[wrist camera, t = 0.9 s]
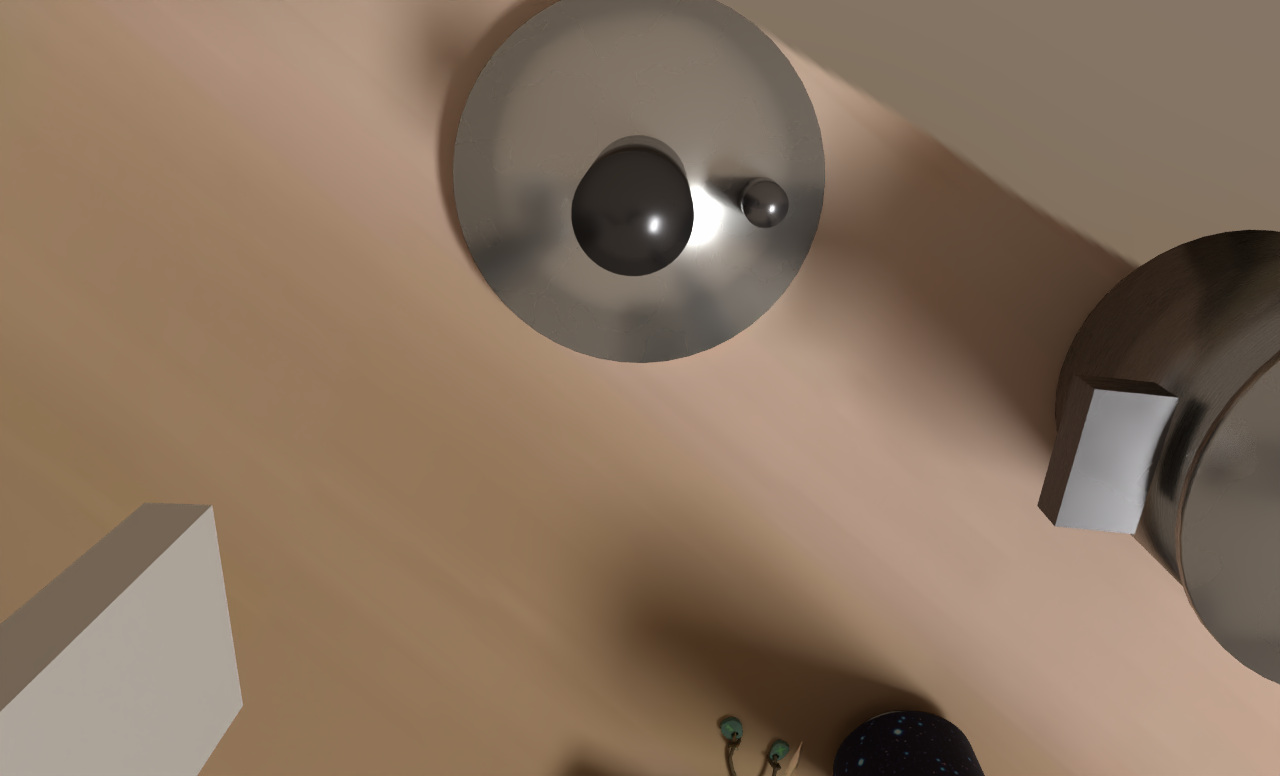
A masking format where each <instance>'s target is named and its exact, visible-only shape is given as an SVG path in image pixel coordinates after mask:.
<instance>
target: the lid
mask: <svg viewBox="0 0 1280 776" xmlns="http://www.w3.org/2000/svg"><path fill="white" fill-rule="evenodd" d="M453 184H454V196H455V202H456V208H457V214H458V218H459V222H460V225H461V228H462V232H463V235H464V238H465V241H466V243H467V246H468V248H469V250H470V252H471V255H472V257H473V259H474V261H475V263H476V265H477V266H478V268H479V270H480V271H481V273H482V275H483V276H484V278H485V280H486V281H487V283H488V284H489V285H490V287H491V288H492V289H493V290H494V292H495V293H496V294H497V296H498V297H499V298H500V299H501V301H502V302H503V303H504V304H505V305H506V306H507V307H508V308H509V309H510V310H511V311H512V312H513V313H515V314H516V315H517V316H518V317H519V318H520V319H521V320H523V321H524V322H525V323H526V324H528V325H529V326H530V327H532V328H533V329H534V330H536V331H537V332H539V333H540V334H542V335H544V336H545V337H547V338H549V339H551V340H552V341H554V342H556V343H558V344H560V345H562V346H565V347H567V348H569V349H571V350H574V351H576V352H579V353H582V354H586V355H589V356H593V357H596V358H600V359H606V360H612V361H618V362H634V363H648V362H660V361H669V360H673V359H678V358H683V357H687V356H691V355H694V354H696V353H699V352H702V351H705V350H708V349H711V348H713V347H715V346H717V345H719V344H721V343H723V342H725V341H727V340H729V339H731V338H732V337H734V336H735V335H737V334H738V333H740V332H741V331H743V330H744V329H746V328H747V327H749V326H750V325H752V324H753V323H754V322H755V321H756V320H757V319H759V318H760V317H761V316H762V315H763V314H764V313H765V312H767V311H768V310H769V309H770V308H771V306H772V305H773V304H774V303H775V302H776V301H777V300H778V299H779V298H780V296H781V295H782V294H783V293H784V292H785V290H786V289H787V287H788V286H789V285H790V283H791V282H792V280H793V279H794V277H795V276H796V275H797V273H798V271H799V269H800V267H801V265H802V263H803V262H804V260H805V258H806V256H807V254H808V252H809V249H810V247H811V244H812V241H813V239H814V236H815V233H816V230H817V227H818V223H819V218H820V214H821V210H822V205H823V196H824V186H825V162H824V150H823V144H822V138H821V132H820V128H819V124H818V121H817V118H816V114H815V111H814V108H813V105H812V103H811V100H810V98H809V96H808V94H807V92H806V89H805V87H804V85H803V83H802V81H801V79H800V78H799V76H798V75H797V73H796V71H795V70H794V68H793V67H792V65H791V63H790V62H789V60H788V59H787V58H786V57H785V55H784V54H783V53H782V52H781V51H780V49H779V48H778V47H777V46H776V45H775V43H774V42H773V41H772V40H771V39H770V38H769V37H768V36H767V35H765V34H764V33H763V32H762V31H761V30H760V29H759V28H758V27H757V26H756V25H755V24H753V23H752V22H751V21H749V20H748V19H746V18H745V17H743V16H742V15H740V14H739V13H738V12H736V11H735V10H733V9H732V8H730V7H728V6H726V5H724V4H722V3H720V2H718V1H716V0H561V1H559V2H556V3H554V4H553V5H551V6H549V7H548V8H546V9H544V10H543V11H541V12H539V13H538V14H536V15H534V16H533V17H532V18H530V19H529V20H528V21H527V22H526V23H524V24H523V25H522V26H521V27H519V28H518V29H517V30H516V31H514V32H513V33H512V34H511V35H510V36H509V38H508V39H507V40H506V41H505V42H504V43H503V44H502V45H501V46H500V47H499V48H498V49H497V50H496V52H495V53H494V54H493V56H492V57H491V59H490V60H489V61H488V63H487V64H486V66H485V67H484V68H483V70H482V71H481V73H480V75H479V77H478V79H477V81H476V82H475V84H474V86H473V88H472V90H471V92H470V94H469V96H468V99H467V102H466V105H465V107H464V110H463V113H462V116H461V118H460V123H459V127H458V132H457V136H456V141H455V149H454V160H453Z"/></svg>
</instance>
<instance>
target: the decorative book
mask: <svg viewBox="0 0 1280 776" xmlns="http://www.w3.org/2000/svg"><path fill="white" fill-rule="evenodd" d="M721 732H722V733H723V735H724V736H725V737H726V738H728V739H731V740H733V741H734V742H733V744H732V743H729V744H728V747H729V748H730V747H732V748H731V751H730V754H729V757H728V760H729V765H730V770H731V773H732V775H733V776H736V773H735V771H734V767H733V762H732V755H733V752H734V750H738V746H739V745H740V742H741V736H742V733H743V730H742V724H741V722H740V721H739V720H738V719H736V718H735V717H730V718H727V719H725V720H723V721H722V722H721ZM736 732H737V733H736ZM736 739H738V740H736ZM788 751H789V745H788V744H787V743H786V742H784V741H781V740H777V741H776V742H775V743H774V744H773V745H772V747H771V749H770V753H769V755H767V759H768V762H769V763H770V765H771V766H772V767H773V774H772V776H776V773H777V771H778V770H780V769H781V766H780V764H779V763H777V761H778V760H780V759H782V758H783V757H784V756H785V755H786V754H787V753H788ZM773 754H774V756H773ZM777 754H778V755H777ZM773 761H774V763H773Z"/></svg>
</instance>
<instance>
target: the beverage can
mask: <svg viewBox="0 0 1280 776" xmlns="http://www.w3.org/2000/svg"><path fill="white" fill-rule="evenodd" d="M833 776H985V775H984V773H983V771H982V769H981V767H980V764H979V762H978V760H977V758H976V756H975V753H974V751H973V749H972V747H971V745H970V743H969V741H968V739H967V738H966V736H965V735H964V734H963V732H962V731H961V730H960V729H959V728H958V727H956V726H955V725H954V724H952V723H951V722H949V721H948V720H946V719H944V718H941V717H939V716H936V715H933V714H930V713H925V712H918V711H892V712H887V713H883V714H880V715H877V716H875V717H873V718H871V719H870V720H868V721H867V722H865V723H864V724H862V725H860V726H859V727H858V728H856V729H855V730H854V731H853V732H852V733H850V734H849V735H848V737H847V738H846V739H845V740H844V741H843V743H842V744H841V746H840V748H839V749H838V751H837V754H836V757H835V760H834V765H833Z"/></svg>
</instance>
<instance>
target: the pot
mask: <svg viewBox="0 0 1280 776" xmlns="http://www.w3.org/2000/svg"><path fill="white" fill-rule="evenodd" d="M1055 414H1056V426H1057V433H1058V434H1057V438H1056V441H1055V445H1054V448H1053V452H1052V455H1051V459H1050V463H1049V466H1048V470H1047V473H1046V477H1045V480H1044V484H1043V488H1042V491H1041V495H1040V498H1039V502H1038V505H1037V506H1038V507H1039V508H1040V510H1041V511H1042V512H1043V513H1044V514H1045V515H1046V517H1047V518H1048V519H1049V520H1050V521H1051V522H1052V524H1053V525H1054V526H1057V527H1067V528H1077V529H1087V530H1097V531H1108V532H1118V533H1128V534H1131V535H1132V536H1133V537H1134V538H1135V539H1136V540H1137V541H1138V542H1139V543H1140V544H1141V545H1142V546H1143V547H1144V548H1145V549H1146V550H1147V551H1148V552H1149V553H1150V554H1151V555H1152V556H1153V557H1154V558H1155V559H1156V560H1157V561H1158V562H1159V563H1160V564H1161V565H1162V566H1163V567H1164V568H1165V569H1166V570H1167V571H1168V572H1169V573H1170V574H1171V575H1172V576H1173V577H1174V578H1175V579H1176V580H1177V581H1178V582H1179V583H1180V584H1181V585H1182V586H1183V588H1184V590H1185V593H1186V596H1187V598H1188V601H1189V603H1190V605H1191V606H1192V608H1193V610H1194V612H1195V613H1196V615H1197V617H1198V618H1199V620H1200V622H1201V623H1202V624H1203V625H1204V627H1205V628H1206V629H1207V630H1208V631H1209V632H1210V634H1211V635H1212V636H1213V637H1214V638H1215V640H1216V641H1217V642H1218V643H1219V644H1220V645H1221V646H1222V647H1223V648H1224V649H1225V650H1226V651H1228V652H1229V653H1230V654H1231V655H1232V656H1233V657H1235V658H1236V659H1237V660H1238V661H1239V662H1241V663H1242V664H1243V665H1245V666H1246V667H1248V668H1249V669H1251V670H1253V671H1254V672H1256V673H1258V674H1259V675H1261V676H1262V677H1264V678H1267V679H1269V680H1271V681H1274V682H1276V683H1278V684H1280V232H1276V231H1266V230H1243V231H1232V232H1225V233H1220V234H1215V235H1210V236H1206V237H1202V238H1199V239H1196V240H1193V241H1190V242H1187V243H1185V244H1182V245H1179V246H1177V247H1175V248H1173V249H1171V250H1169V251H1166V252H1164V253H1162V254H1160V255H1158V256H1157V257H1155V258H1154V259H1152V260H1150V261H1148V262H1147V263H1145V264H1144V265H1142V266H1140V267H1139V268H1137V269H1136V270H1135V271H1134V272H1132V273H1131V274H1130V275H1128V276H1127V277H1126V278H1125V279H1123V280H1122V281H1121V282H1120V283H1119V284H1117V285H1116V286H1115V287H1114V288H1113V289H1112V290H1111V291H1110V292H1109V293H1108V294H1107V295H1106V296H1105V297H1104V298H1103V299H1102V300H1101V302H1100V303H1099V304H1098V305H1097V306H1096V308H1095V309H1094V310H1093V311H1092V312H1091V314H1090V315H1089V316H1088V318H1087V319H1086V321H1085V322H1084V324H1083V325H1082V327H1081V329H1080V330H1079V332H1078V333H1077V335H1076V337H1075V339H1074V341H1073V343H1072V345H1071V347H1070V349H1069V351H1068V353H1067V356H1066V359H1065V362H1064V364H1063V367H1062V370H1061V373H1060V378H1059V383H1058V388H1057V393H1056V409H1055Z"/></svg>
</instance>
